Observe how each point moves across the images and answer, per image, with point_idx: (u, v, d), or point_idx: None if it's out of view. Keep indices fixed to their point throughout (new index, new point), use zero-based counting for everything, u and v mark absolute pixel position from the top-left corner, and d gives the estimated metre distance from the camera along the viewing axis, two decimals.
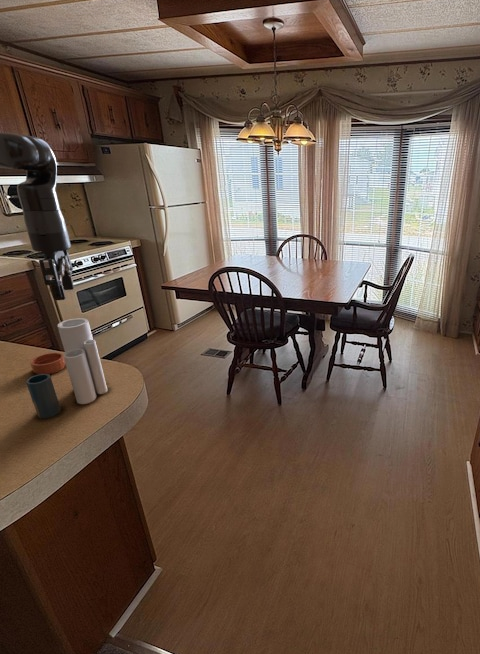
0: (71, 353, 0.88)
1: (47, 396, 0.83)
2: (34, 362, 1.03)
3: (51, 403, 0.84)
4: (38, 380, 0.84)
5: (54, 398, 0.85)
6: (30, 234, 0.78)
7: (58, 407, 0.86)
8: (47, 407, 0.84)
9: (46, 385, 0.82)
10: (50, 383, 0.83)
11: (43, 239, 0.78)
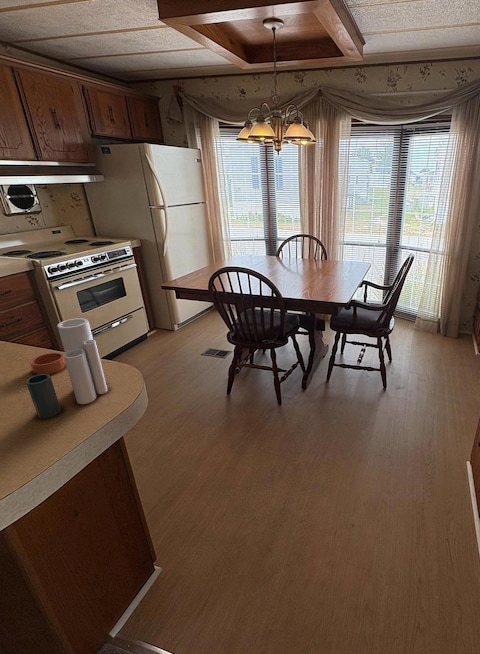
0: (71, 353, 0.88)
1: (47, 396, 0.83)
2: (34, 362, 1.03)
3: (51, 403, 0.84)
4: (38, 380, 0.84)
5: (54, 398, 0.85)
6: None
7: (58, 407, 0.86)
8: (47, 407, 0.84)
9: (46, 385, 0.82)
10: (50, 383, 0.83)
11: None
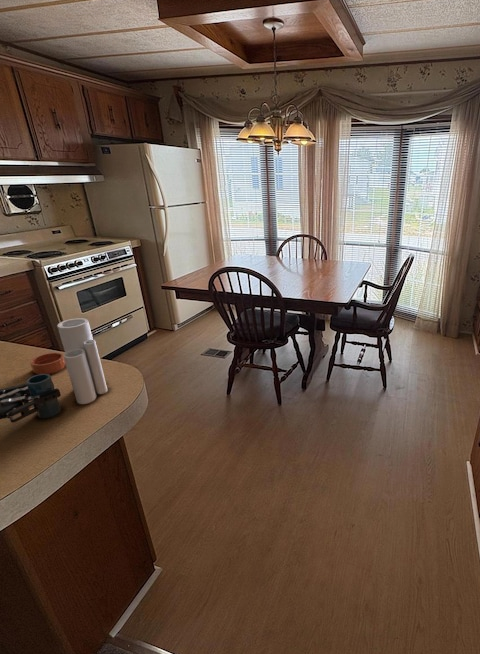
0: (71, 353, 0.88)
1: None
2: (34, 362, 1.03)
3: (52, 403, 0.84)
4: (38, 380, 0.84)
5: None
6: None
7: (58, 407, 0.86)
8: (48, 407, 0.84)
9: (46, 385, 0.82)
10: (50, 383, 0.83)
11: None
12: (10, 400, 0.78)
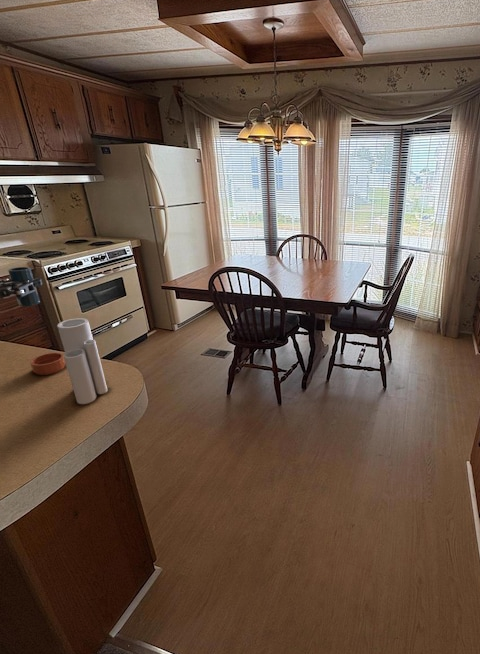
0: (71, 353, 0.88)
1: None
2: (34, 362, 1.03)
3: (35, 292, 0.95)
4: None
5: None
6: None
7: (38, 297, 0.97)
8: (32, 295, 0.95)
9: (30, 273, 0.93)
10: (31, 273, 0.94)
11: None
12: (4, 283, 0.87)
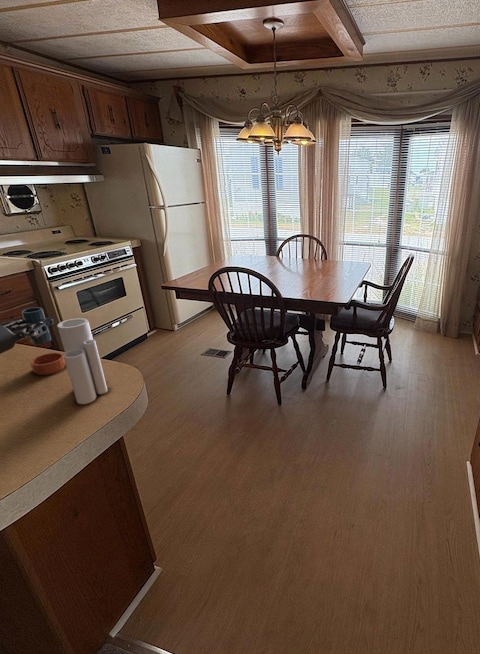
0: (71, 353, 0.88)
1: None
2: (34, 362, 1.03)
3: None
4: None
5: None
6: None
7: (50, 335, 1.03)
8: (45, 334, 1.00)
9: (42, 313, 0.99)
10: (43, 313, 1.00)
11: None
12: (19, 325, 0.93)
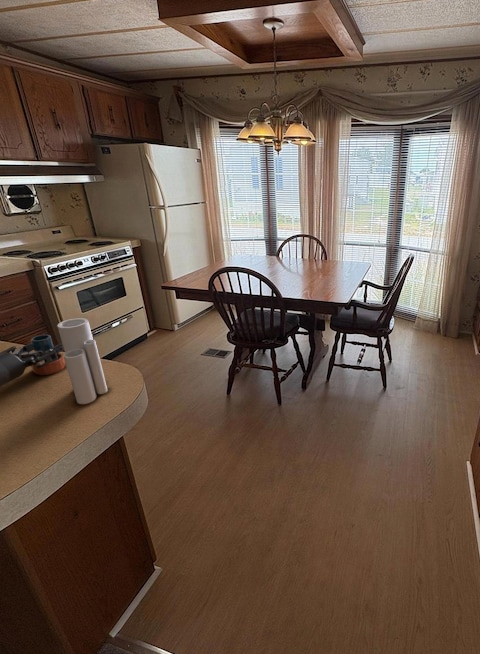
0: (71, 353, 0.88)
1: None
2: None
3: None
4: (37, 341, 1.02)
5: None
6: None
7: None
8: None
9: (50, 341, 1.02)
10: (51, 340, 1.03)
11: None
12: (28, 352, 0.96)
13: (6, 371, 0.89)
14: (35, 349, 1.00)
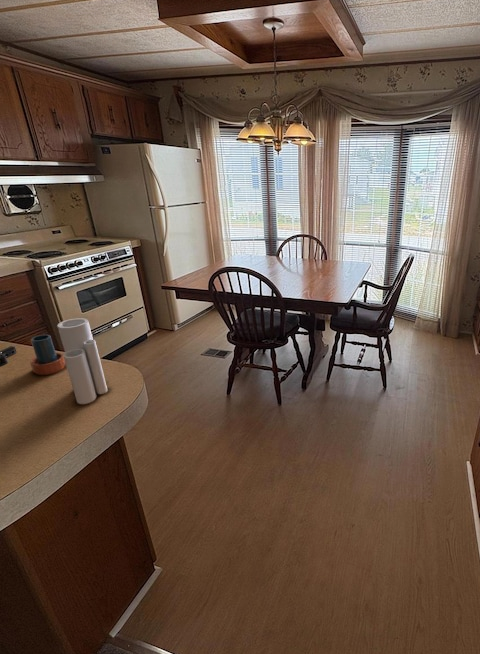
0: (71, 353, 0.88)
1: (52, 350, 1.03)
2: (34, 362, 1.03)
3: (55, 356, 1.04)
4: (37, 341, 1.02)
5: (55, 352, 1.05)
6: None
7: None
8: (53, 360, 1.03)
9: (50, 341, 1.02)
10: (51, 340, 1.03)
11: None
12: None
13: None
14: (35, 349, 1.00)
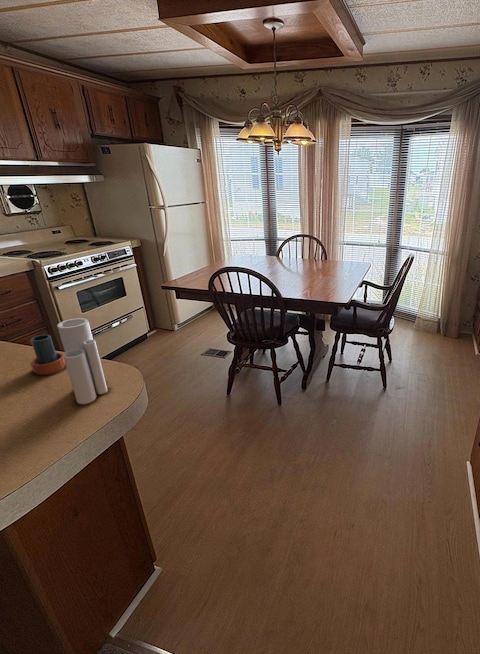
0: (71, 353, 0.88)
1: (52, 350, 1.03)
2: (34, 362, 1.03)
3: (55, 356, 1.04)
4: (37, 341, 1.02)
5: (55, 352, 1.05)
6: None
7: None
8: (53, 360, 1.03)
9: (50, 341, 1.02)
10: (51, 340, 1.03)
11: None
12: None
13: None
14: (35, 349, 1.00)
